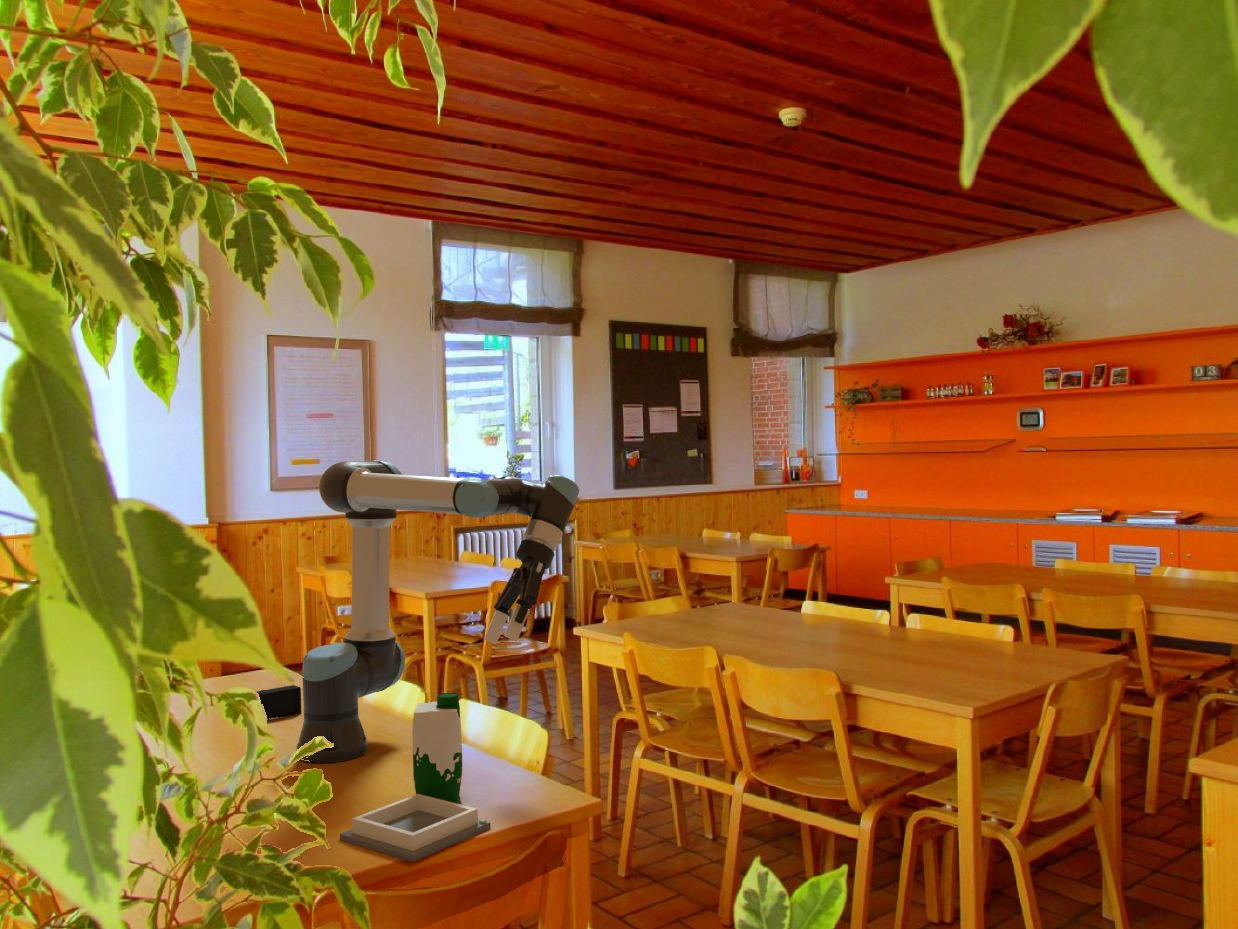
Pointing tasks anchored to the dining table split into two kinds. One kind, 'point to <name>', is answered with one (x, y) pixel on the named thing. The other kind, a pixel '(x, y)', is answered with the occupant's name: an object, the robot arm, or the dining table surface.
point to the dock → (415, 827)
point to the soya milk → (438, 748)
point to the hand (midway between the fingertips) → (499, 640)
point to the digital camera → (281, 701)
